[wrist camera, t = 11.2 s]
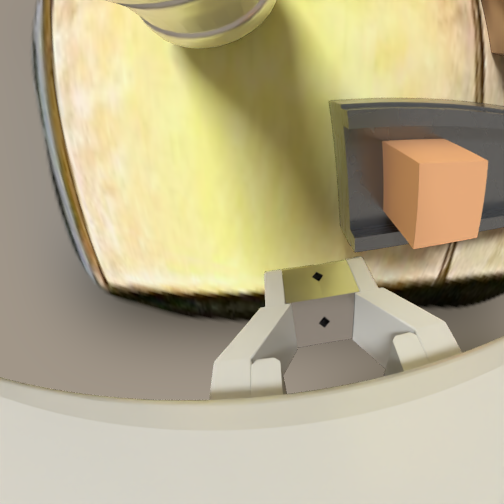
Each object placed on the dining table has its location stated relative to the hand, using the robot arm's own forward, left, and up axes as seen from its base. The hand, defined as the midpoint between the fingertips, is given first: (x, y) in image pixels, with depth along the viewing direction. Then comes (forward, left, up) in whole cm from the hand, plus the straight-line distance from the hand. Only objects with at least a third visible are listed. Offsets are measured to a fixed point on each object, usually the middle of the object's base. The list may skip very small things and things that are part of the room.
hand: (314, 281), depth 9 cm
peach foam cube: (0, +7, -7) cm, 10 cm away
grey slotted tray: (0, +15, -10) cm, 18 cm away
